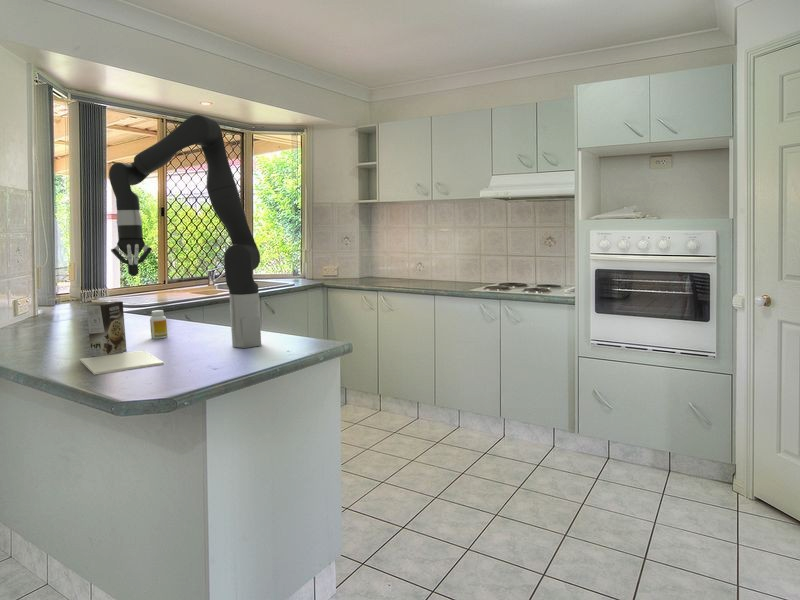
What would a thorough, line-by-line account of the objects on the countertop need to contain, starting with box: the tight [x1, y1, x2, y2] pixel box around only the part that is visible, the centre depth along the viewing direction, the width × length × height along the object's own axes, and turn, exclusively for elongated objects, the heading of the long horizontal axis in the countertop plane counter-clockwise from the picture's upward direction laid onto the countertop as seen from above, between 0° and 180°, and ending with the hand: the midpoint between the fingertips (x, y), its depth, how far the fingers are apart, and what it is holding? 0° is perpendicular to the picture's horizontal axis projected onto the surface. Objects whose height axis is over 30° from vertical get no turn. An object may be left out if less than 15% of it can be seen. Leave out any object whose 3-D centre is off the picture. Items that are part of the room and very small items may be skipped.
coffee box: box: [86, 301, 128, 357], centre depth 184 cm, size 9×6×16 cm
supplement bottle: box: [149, 309, 168, 340], centre depth 211 cm, size 5×5×10 cm
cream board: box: [79, 350, 165, 376], centre depth 172 cm, size 22×18×1 cm
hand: (133, 275), depth 199 cm, fingers closed
